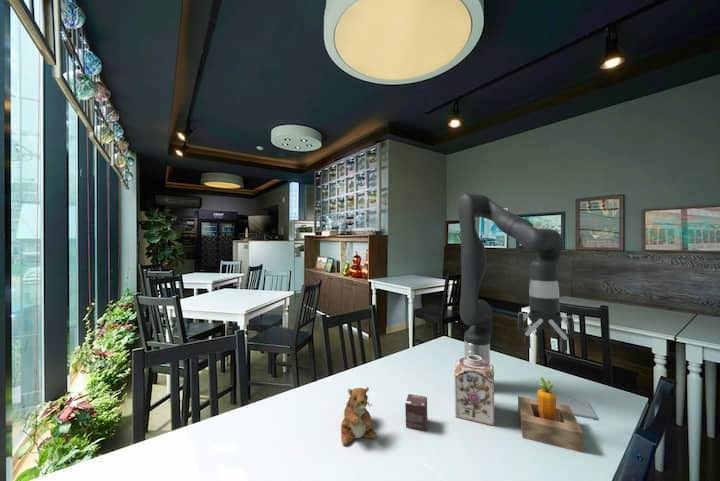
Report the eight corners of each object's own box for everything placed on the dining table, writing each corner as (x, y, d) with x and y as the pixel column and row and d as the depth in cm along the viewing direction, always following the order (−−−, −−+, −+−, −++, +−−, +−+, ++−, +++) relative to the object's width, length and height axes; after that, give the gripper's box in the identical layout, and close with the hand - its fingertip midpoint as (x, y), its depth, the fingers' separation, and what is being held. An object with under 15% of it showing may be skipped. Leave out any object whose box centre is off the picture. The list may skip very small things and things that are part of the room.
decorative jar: (494, 407, 96) (493, 353, 96) (495, 427, 85) (494, 367, 86) (457, 399, 101) (457, 348, 101) (453, 417, 90) (453, 360, 91)
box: (427, 420, 89) (427, 396, 89) (425, 431, 83) (425, 406, 84) (408, 416, 91) (408, 393, 91) (405, 427, 85) (405, 403, 86)
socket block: (522, 437, 80) (522, 419, 81) (518, 411, 93) (518, 396, 93) (583, 452, 75) (582, 433, 75) (570, 422, 87) (569, 406, 87)
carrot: (560, 436, 81) (559, 383, 81) (541, 434, 82) (540, 382, 82) (552, 425, 86) (551, 375, 86) (534, 423, 87) (533, 374, 87)
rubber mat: (558, 412, 93) (558, 410, 93) (552, 397, 102) (552, 395, 102) (597, 419, 88) (597, 417, 88) (587, 403, 97) (587, 401, 97)
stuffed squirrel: (342, 448, 77) (342, 399, 77) (337, 417, 91) (336, 376, 91) (378, 443, 79) (377, 395, 79) (367, 414, 93) (367, 373, 93)
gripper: (518, 295, 84) (519, 350, 84) (576, 298, 78) (578, 357, 78) (516, 292, 91) (517, 342, 91) (569, 294, 85) (571, 348, 85)
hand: (545, 349), depth 84 cm, fingers open, 8 cm apart
